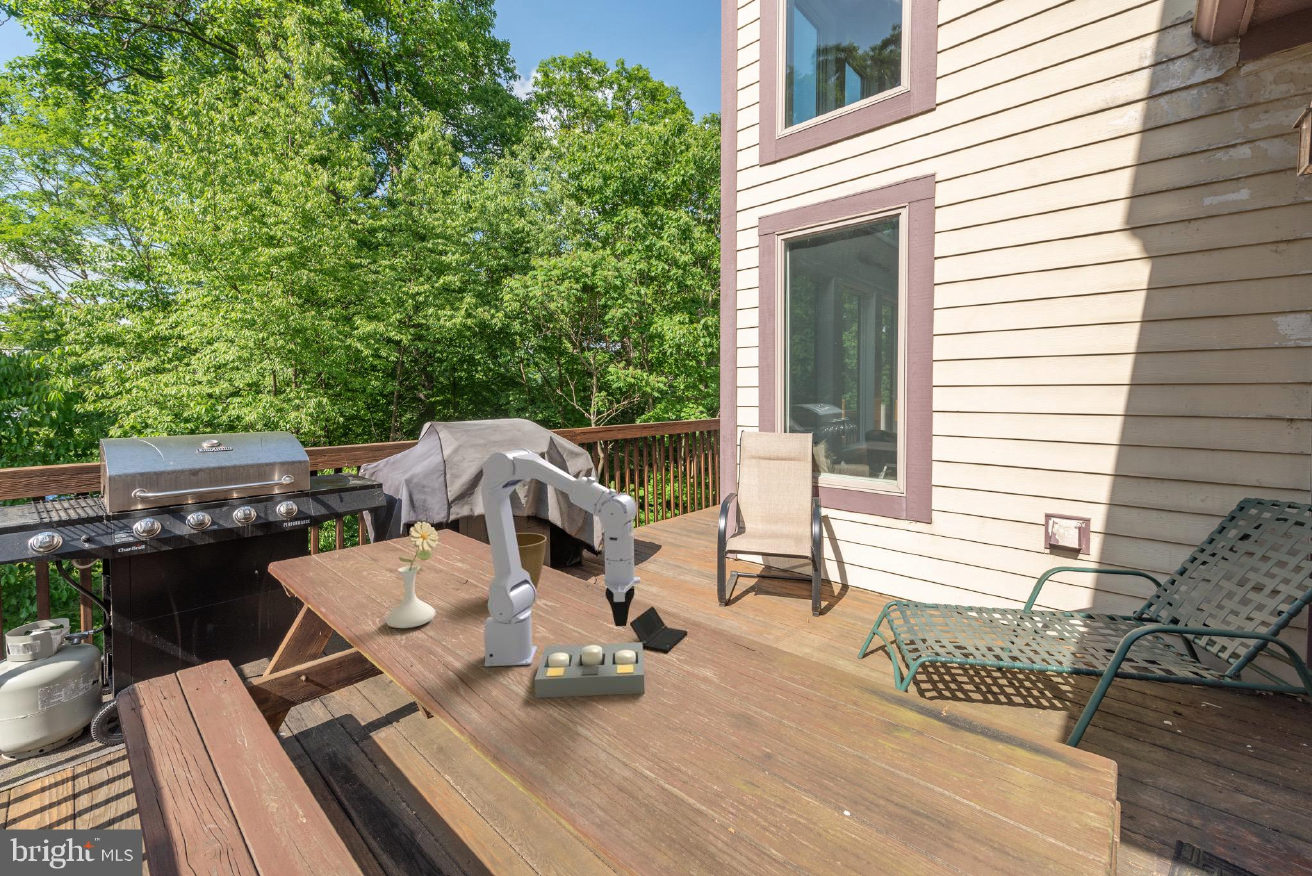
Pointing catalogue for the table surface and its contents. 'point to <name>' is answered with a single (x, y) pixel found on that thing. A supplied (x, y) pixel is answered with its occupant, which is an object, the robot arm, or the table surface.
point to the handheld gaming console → (656, 632)
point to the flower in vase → (411, 607)
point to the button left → (558, 660)
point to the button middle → (591, 655)
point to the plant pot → (532, 554)
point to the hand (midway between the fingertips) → (620, 624)
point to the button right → (625, 657)
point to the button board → (590, 673)
